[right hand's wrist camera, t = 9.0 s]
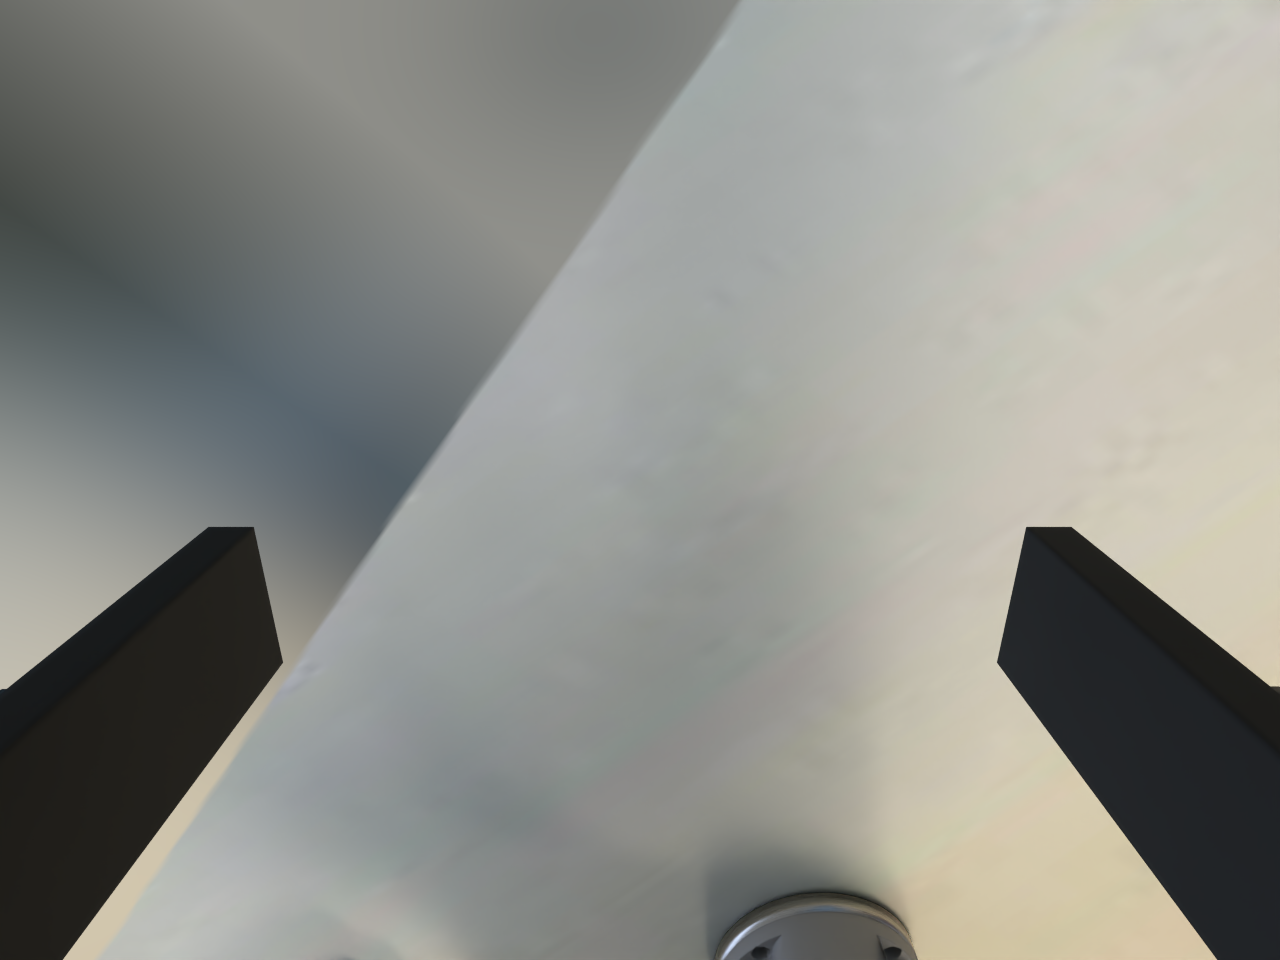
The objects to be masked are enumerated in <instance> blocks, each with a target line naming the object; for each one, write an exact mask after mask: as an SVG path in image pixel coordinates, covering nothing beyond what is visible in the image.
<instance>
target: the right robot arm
mask: <svg viewBox="0 0 1280 960" xmlns="http://www.w3.org/2000/svg"><path fill="white" fill-rule="evenodd" d="M282 663H283V660H282V656H281V651H280V647H279V642H278V637H277V633H276V628H275V623H274V619H273V614H272V610H271V605H270V600H269V596H268V591H267V586H266V582H265V577H264V573H263V568H262V563H261V559H260V554H259V549H258V545H257V540H256V536H255V531H254V527H208V528H207V529H206V530H204V531H203V532H202V533H201V534H199V535H198V536H197V537H196V538H194V539H193V540H192V541H191V542H189V543H188V544H187V545H186V546H184V547H183V548H182V549H181V550H179V551H178V552H177V553H176V554H174V555H173V556H172V557H171V558H169V559H168V560H167V561H166V562H164V563H163V564H162V565H161V566H159V567H158V568H157V569H156V570H154V571H153V572H152V573H151V574H149V575H148V576H147V577H146V578H144V579H143V580H142V581H141V582H139V583H138V584H137V585H136V586H135V587H133V588H132V589H131V590H129V591H128V592H127V593H126V594H125V595H123V596H122V597H121V598H120V599H118V600H117V601H116V602H115V603H113V604H112V605H111V606H110V607H108V608H107V609H106V610H105V611H103V612H102V613H101V614H100V615H98V616H97V617H96V618H95V619H93V620H92V621H91V622H90V623H88V624H87V625H86V626H85V627H83V628H82V629H81V630H80V631H78V632H77V633H76V634H75V635H73V636H72V637H71V638H70V639H68V640H67V641H66V642H65V643H63V644H62V645H61V646H60V647H58V648H57V649H56V650H55V651H53V652H52V653H51V654H50V655H48V656H47V657H46V658H45V659H44V660H42V661H41V662H40V663H39V664H37V665H36V666H35V667H34V668H32V669H31V670H30V671H29V672H27V673H26V674H25V675H24V676H22V677H21V678H20V679H19V680H17V681H16V682H15V683H14V684H12V685H11V686H10V687H9V688H7V689H2V690H0V960H63V959H64V957H65V956H66V955H67V953H68V952H69V951H70V949H71V948H72V946H73V945H74V944H75V942H76V941H77V940H78V938H79V937H80V936H81V934H82V933H83V932H84V930H85V929H86V928H87V926H88V925H89V924H90V922H91V921H92V920H93V918H94V917H95V915H96V914H97V913H98V911H99V910H100V909H101V907H102V906H103V905H104V903H105V902H106V901H107V899H108V898H109V897H110V895H111V894H112V893H113V891H114V890H115V888H116V887H117V886H118V884H119V883H120V882H121V880H122V879H123V878H124V876H125V875H126V874H127V872H128V871H129V870H130V868H131V867H132V866H133V864H134V863H135V861H136V860H137V859H138V857H139V856H140V855H141V853H142V852H143V851H144V849H145V848H146V847H147V845H148V844H149V843H150V841H151V840H152V839H153V837H154V836H155V835H156V833H157V832H158V830H159V829H160V828H161V826H162V825H163V824H164V822H165V821H166V820H167V818H168V817H169V816H170V814H171V813H172V812H173V810H174V809H175V808H176V806H177V805H178V803H179V802H180V801H181V799H182V798H183V797H184V795H185V794H186V793H187V791H188V790H189V789H190V787H191V786H192V784H193V783H194V782H195V780H196V779H197V778H198V776H199V775H200V774H201V772H202V771H203V770H204V768H205V767H206V766H207V764H208V763H209V762H210V760H211V759H212V758H213V756H214V755H215V754H216V752H217V751H218V749H219V748H220V747H221V745H222V744H223V743H224V741H225V740H226V739H227V737H228V736H229V735H230V733H231V732H232V731H233V729H234V728H235V727H236V725H237V724H238V723H239V721H240V720H241V718H242V717H243V716H244V714H245V713H246V712H247V710H248V709H249V708H250V706H251V705H252V704H253V702H254V701H255V700H256V698H257V697H258V696H259V694H260V693H261V692H262V690H263V689H264V687H265V686H266V685H267V683H268V682H269V681H270V679H271V678H272V677H273V675H274V674H275V673H276V671H277V670H278V669H279V667H280V666H281V664H282ZM997 663H998V665H999V666H1000V667H1001V669H1002V670H1003V671H1004V673H1005V674H1006V675H1007V677H1008V678H1009V679H1010V681H1011V682H1012V683H1013V685H1014V686H1015V687H1016V689H1017V690H1018V692H1019V693H1020V694H1021V696H1022V697H1023V698H1024V700H1025V701H1026V702H1027V704H1028V705H1029V706H1030V708H1031V709H1032V710H1033V712H1034V713H1035V714H1036V716H1037V717H1038V718H1039V720H1040V721H1041V723H1042V724H1043V725H1044V727H1045V728H1046V729H1047V731H1048V732H1049V733H1050V735H1051V736H1052V737H1053V739H1054V740H1055V741H1056V743H1057V744H1058V745H1059V747H1060V748H1061V750H1062V751H1063V752H1064V754H1065V755H1066V756H1067V758H1068V759H1069V760H1070V762H1071V763H1072V764H1073V766H1074V767H1075V768H1076V770H1077V771H1078V772H1079V774H1080V775H1081V777H1082V778H1083V779H1084V781H1085V782H1086V783H1087V785H1088V786H1089V787H1090V789H1091V790H1092V791H1093V793H1094V794H1095V795H1096V797H1097V798H1098V799H1099V801H1100V802H1101V803H1102V805H1103V806H1104V808H1105V809H1106V810H1107V812H1108V813H1109V814H1110V816H1111V817H1112V818H1113V820H1114V821H1115V822H1116V824H1117V825H1118V826H1119V828H1120V829H1121V830H1122V832H1123V833H1124V835H1125V836H1126V837H1127V839H1128V840H1129V841H1130V843H1131V844H1132V845H1133V847H1134V848H1135V849H1136V851H1137V852H1138V853H1139V855H1140V856H1141V857H1142V859H1143V860H1144V862H1145V863H1146V864H1147V866H1148V867H1149V868H1150V870H1151V871H1152V872H1153V874H1154V875H1155V876H1156V878H1157V879H1158V880H1159V882H1160V883H1161V884H1162V886H1163V887H1164V888H1165V890H1166V891H1167V893H1168V894H1169V895H1170V897H1171V898H1172V899H1173V901H1174V902H1175V903H1176V905H1177V906H1178V907H1179V909H1180V910H1181V911H1182V913H1183V914H1184V915H1185V917H1186V918H1187V920H1188V921H1189V922H1190V924H1191V925H1192V926H1193V928H1194V929H1195V930H1196V932H1197V933H1198V934H1199V936H1200V937H1201V938H1202V940H1203V941H1204V942H1205V944H1206V945H1207V946H1208V948H1209V949H1210V951H1211V952H1212V953H1213V955H1214V956H1215V957H1216V959H1217V960H1280V687H1270V686H1269V685H1268V684H1266V683H1265V682H1264V681H1263V680H1261V679H1260V678H1259V677H1258V676H1256V675H1255V674H1254V673H1253V672H1251V671H1250V670H1249V669H1248V668H1246V667H1245V666H1244V665H1243V664H1241V663H1240V662H1239V661H1238V660H1236V659H1235V658H1234V657H1233V656H1232V655H1230V654H1229V653H1228V652H1227V651H1225V650H1224V649H1223V648H1222V647H1220V646H1219V645H1218V644H1217V643H1215V642H1214V641H1213V640H1212V639H1210V638H1209V637H1208V636H1207V635H1205V634H1204V633H1203V632H1202V631H1200V630H1199V629H1198V628H1197V627H1195V626H1194V625H1193V624H1192V623H1190V622H1189V621H1188V620H1187V619H1185V618H1184V617H1183V616H1182V615H1180V614H1179V613H1178V612H1177V611H1175V610H1174V609H1173V608H1172V607H1170V606H1169V605H1168V604H1167V603H1165V602H1164V601H1163V600H1162V599H1160V598H1159V597H1158V596H1157V595H1155V594H1154V593H1153V592H1152V591H1151V590H1149V589H1148V588H1147V587H1146V586H1144V585H1143V584H1142V583H1141V582H1139V581H1138V580H1137V579H1136V578H1134V577H1133V576H1132V575H1131V574H1129V573H1128V572H1127V571H1126V570H1124V569H1123V568H1122V567H1121V566H1119V565H1118V564H1117V563H1116V562H1114V561H1113V560H1112V559H1111V558H1109V557H1108V556H1107V555H1106V554H1104V553H1103V552H1102V551H1101V550H1099V549H1098V548H1097V547H1096V546H1094V545H1093V544H1092V543H1091V542H1089V541H1088V540H1087V539H1086V538H1084V537H1083V536H1082V535H1081V534H1079V533H1078V532H1077V531H1076V530H1074V529H1073V528H1072V527H1026V531H1025V535H1024V540H1023V545H1022V549H1021V554H1020V559H1019V563H1018V568H1017V573H1016V577H1015V582H1014V586H1013V591H1012V596H1011V600H1010V605H1009V610H1008V614H1007V619H1006V623H1005V628H1004V633H1003V637H1002V642H1001V647H1000V651H999V656H998V660H997ZM715 960H918V959H917V956H916V953H915V951H914V948H913V945H912V942H911V939H910V937H909V935H908V933H907V931H906V929H905V928H904V926H903V925H902V924H901V923H900V921H899V920H898V919H897V918H896V917H895V916H893V915H892V914H891V913H890V912H888V911H887V910H885V909H884V908H882V907H880V906H879V905H876V904H874V903H872V902H870V901H867V900H864V899H862V898H858V897H854V896H850V895H844V894H836V893H808V894H800V895H794V896H790V897H786V898H782V899H779V900H776V901H773V902H770V903H768V904H765V905H763V906H761V907H759V908H757V909H755V910H753V911H752V912H750V913H748V914H747V915H745V916H744V917H743V918H741V919H740V920H739V921H738V922H737V923H735V924H734V925H733V926H732V927H731V929H730V930H729V931H728V932H727V933H726V935H725V936H724V937H723V939H722V941H721V942H720V944H719V947H718V949H717V952H716V956H715Z"/></svg>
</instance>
